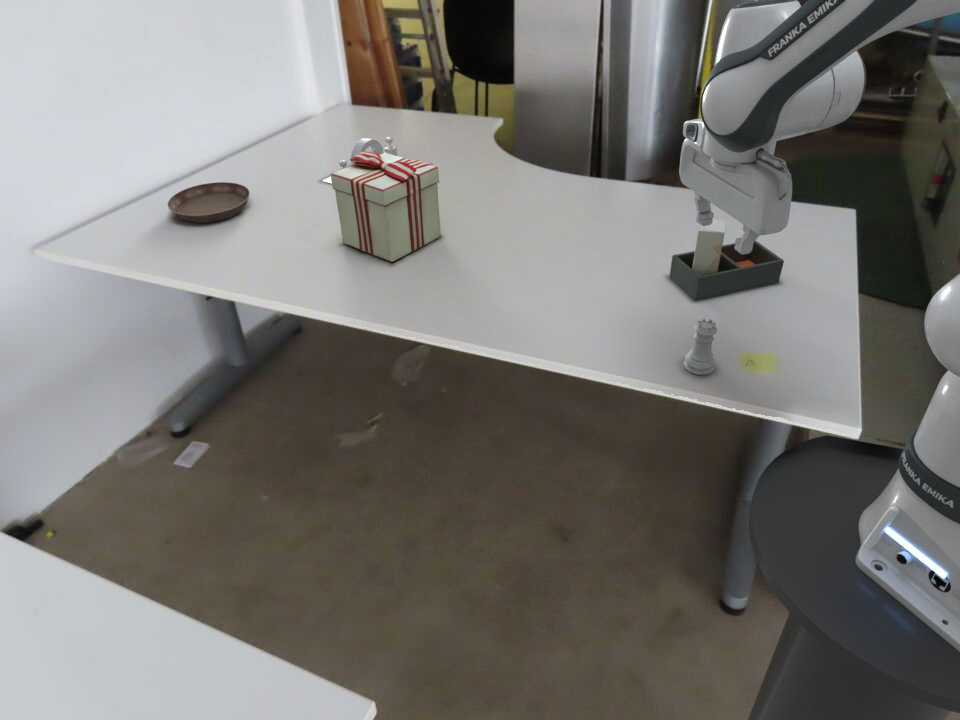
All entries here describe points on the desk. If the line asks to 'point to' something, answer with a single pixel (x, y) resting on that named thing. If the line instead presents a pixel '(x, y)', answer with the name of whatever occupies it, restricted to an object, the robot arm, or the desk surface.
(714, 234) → the box
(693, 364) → the rook chess piece
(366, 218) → the gift box
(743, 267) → the divided tray
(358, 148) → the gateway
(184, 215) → the plant saucer
